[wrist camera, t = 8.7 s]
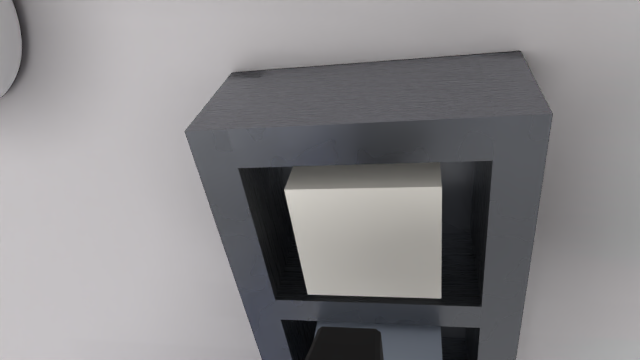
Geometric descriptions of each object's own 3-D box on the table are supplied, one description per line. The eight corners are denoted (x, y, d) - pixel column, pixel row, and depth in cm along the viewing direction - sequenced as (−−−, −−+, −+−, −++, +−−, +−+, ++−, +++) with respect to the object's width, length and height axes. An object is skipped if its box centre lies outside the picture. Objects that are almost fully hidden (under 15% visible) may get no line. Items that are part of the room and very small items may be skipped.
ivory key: (437, 233, 17) (441, 298, 14) (322, 233, 18) (307, 294, 15) (437, 129, 14) (441, 187, 12) (304, 135, 15) (283, 189, 13)
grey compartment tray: (483, 419, 25) (493, 504, 22) (317, 406, 27) (303, 482, 24) (520, 50, 14) (552, 113, 11) (231, 72, 16) (184, 131, 12)
